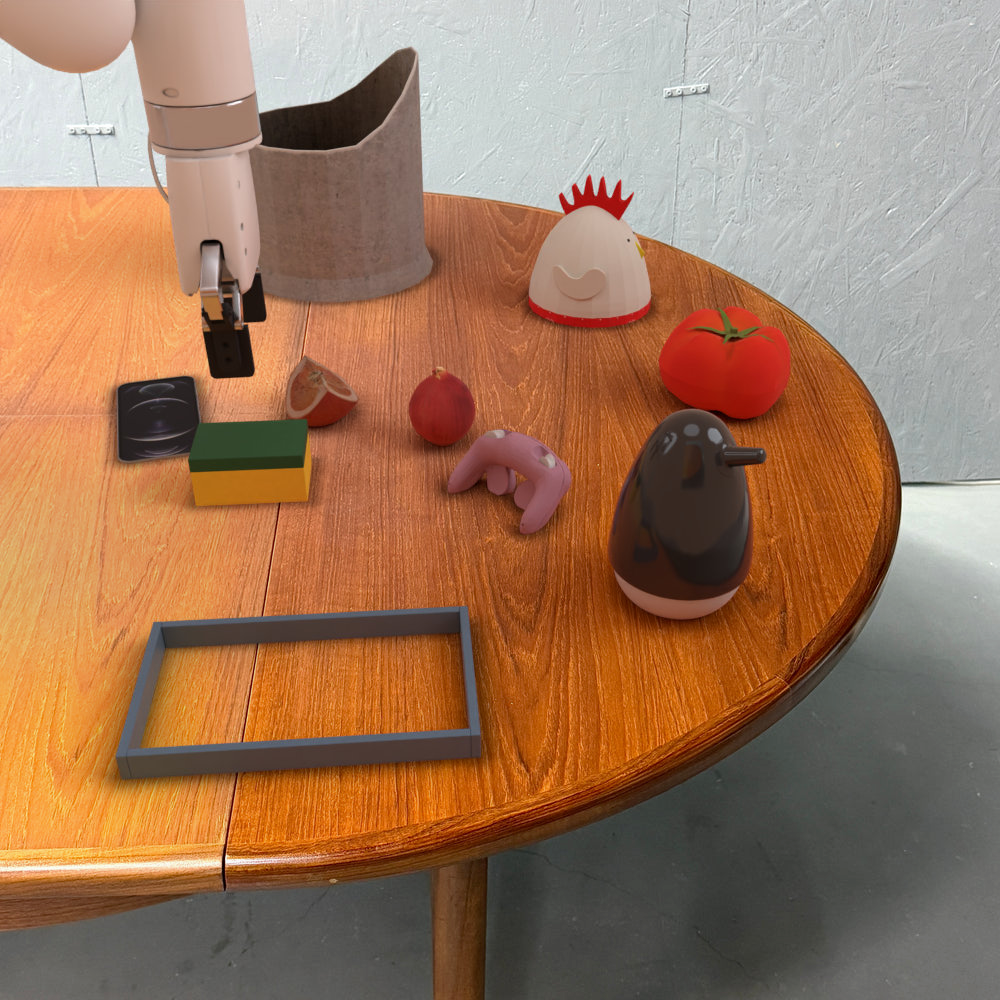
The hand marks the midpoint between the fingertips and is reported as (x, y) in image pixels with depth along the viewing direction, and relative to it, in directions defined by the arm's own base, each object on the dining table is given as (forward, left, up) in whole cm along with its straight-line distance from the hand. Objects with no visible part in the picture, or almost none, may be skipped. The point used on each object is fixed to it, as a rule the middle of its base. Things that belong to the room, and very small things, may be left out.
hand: (240, 347), depth 84 cm
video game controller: (+21, -4, -13) cm, 25 cm away
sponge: (0, 0, -13) cm, 13 cm away
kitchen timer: (+34, +36, -13) cm, 51 cm away
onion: (+16, +6, -13) cm, 21 cm away
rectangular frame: (+6, -26, -13) cm, 30 cm away
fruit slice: (+5, +12, -13) cm, 18 cm away
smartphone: (-10, +12, -13) cm, 20 cm away
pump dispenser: (+32, -17, -13) cm, 38 cm away
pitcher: (+1, +49, -13) cm, 51 cm away
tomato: (+43, +12, -13) cm, 46 cm away
